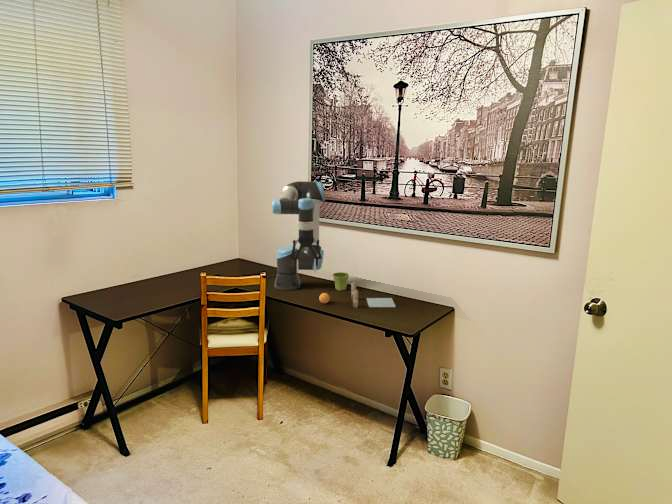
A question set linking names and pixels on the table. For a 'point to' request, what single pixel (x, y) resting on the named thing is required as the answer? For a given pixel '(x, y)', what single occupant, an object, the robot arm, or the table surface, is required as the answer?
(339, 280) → the plant pot
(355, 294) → the gate post
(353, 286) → the gate post
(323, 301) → the ball
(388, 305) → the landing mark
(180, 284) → the table surface
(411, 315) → the table surface
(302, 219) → the robot arm
